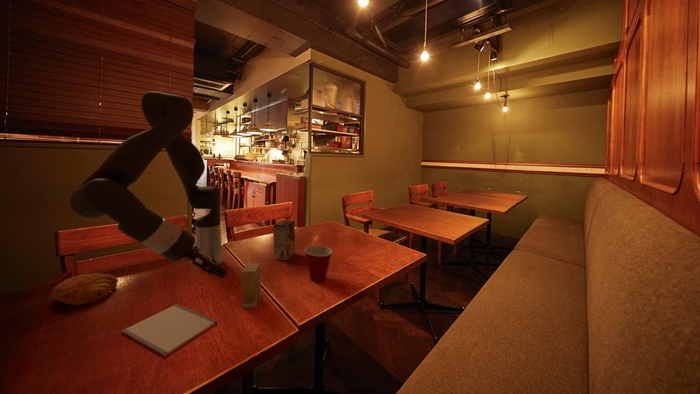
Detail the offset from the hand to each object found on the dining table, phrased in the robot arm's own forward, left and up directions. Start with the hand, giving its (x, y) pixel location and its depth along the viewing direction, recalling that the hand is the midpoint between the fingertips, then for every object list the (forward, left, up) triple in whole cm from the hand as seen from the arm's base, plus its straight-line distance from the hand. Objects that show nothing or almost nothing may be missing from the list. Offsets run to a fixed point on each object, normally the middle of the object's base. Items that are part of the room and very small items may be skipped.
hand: (219, 269), depth 75 cm
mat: (-7, -10, -14) cm, 19 cm away
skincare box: (+3, +9, -14) cm, 17 cm away
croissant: (-47, -12, -14) cm, 51 cm away
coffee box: (-13, +45, -14) cm, 49 cm away
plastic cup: (+13, +33, -14) cm, 38 cm away
